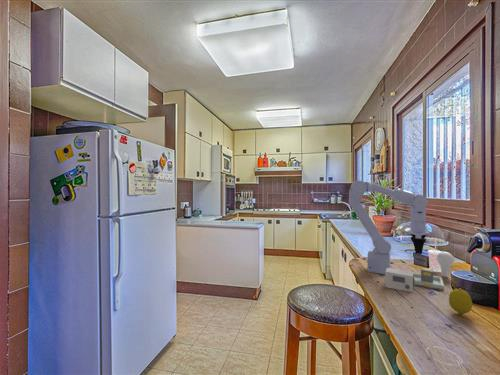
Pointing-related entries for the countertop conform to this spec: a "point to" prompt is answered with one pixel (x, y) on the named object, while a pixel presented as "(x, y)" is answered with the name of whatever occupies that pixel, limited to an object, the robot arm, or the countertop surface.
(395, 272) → the control box
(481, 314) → the countertop surface
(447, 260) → the lightbulb
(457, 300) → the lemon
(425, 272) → the block
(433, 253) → the beverage cup
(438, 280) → the parts tray
